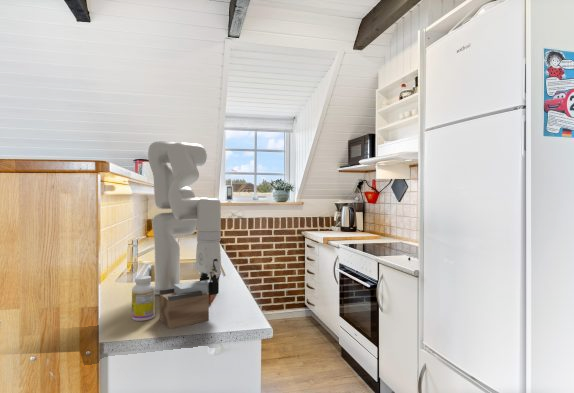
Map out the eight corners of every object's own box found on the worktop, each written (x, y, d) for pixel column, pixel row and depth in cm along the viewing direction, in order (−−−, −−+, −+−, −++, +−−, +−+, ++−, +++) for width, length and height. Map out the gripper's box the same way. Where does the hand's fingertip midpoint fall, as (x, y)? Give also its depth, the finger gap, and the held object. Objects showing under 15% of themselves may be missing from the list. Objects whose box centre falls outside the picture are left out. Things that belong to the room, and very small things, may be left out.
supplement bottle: (136, 314, 115) (135, 275, 115) (157, 314, 115) (157, 274, 115) (128, 322, 108) (128, 280, 108) (151, 321, 109) (151, 279, 109)
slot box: (159, 319, 111) (159, 289, 111) (196, 311, 118) (196, 283, 118) (169, 328, 103) (169, 297, 103) (208, 320, 110) (208, 290, 110)
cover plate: (174, 292, 112) (174, 284, 112) (209, 286, 119) (209, 279, 119) (181, 297, 106) (181, 289, 106) (218, 291, 113) (218, 283, 113)
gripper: (188, 234, 120) (188, 287, 120) (208, 240, 106) (208, 300, 106) (209, 233, 124) (209, 284, 124) (231, 238, 110) (231, 296, 110)
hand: (208, 291), depth 115 cm, fingers closed on cover plate, 6 cm apart
